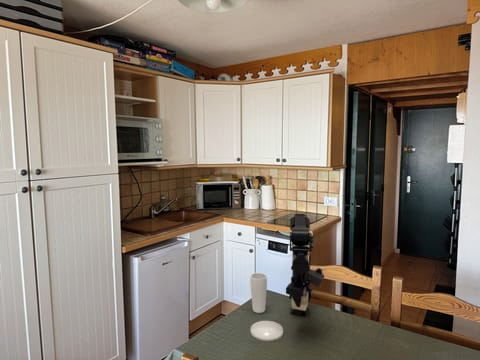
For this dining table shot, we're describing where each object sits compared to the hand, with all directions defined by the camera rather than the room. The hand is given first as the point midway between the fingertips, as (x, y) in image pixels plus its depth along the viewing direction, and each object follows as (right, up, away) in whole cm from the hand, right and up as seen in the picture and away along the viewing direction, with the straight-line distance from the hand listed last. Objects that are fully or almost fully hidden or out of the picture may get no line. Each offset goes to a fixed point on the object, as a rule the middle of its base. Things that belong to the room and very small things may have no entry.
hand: (300, 303), depth 126 cm
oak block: (0, -1, 0) cm, 1 cm away
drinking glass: (-14, -9, +16) cm, 23 cm away
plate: (-12, -10, 0) cm, 16 cm away
